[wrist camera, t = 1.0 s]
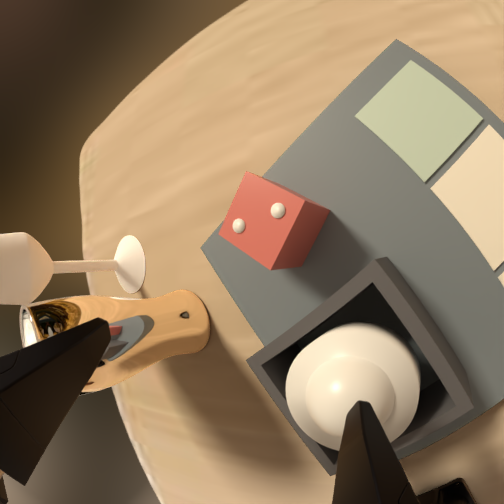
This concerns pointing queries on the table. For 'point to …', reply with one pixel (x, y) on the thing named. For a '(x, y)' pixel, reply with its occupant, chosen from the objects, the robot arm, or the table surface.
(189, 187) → the table surface
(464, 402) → the game board
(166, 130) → the table surface
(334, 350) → the dome button
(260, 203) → the red die
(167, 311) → the beer glass
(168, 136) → the table surface
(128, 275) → the champagne flute
